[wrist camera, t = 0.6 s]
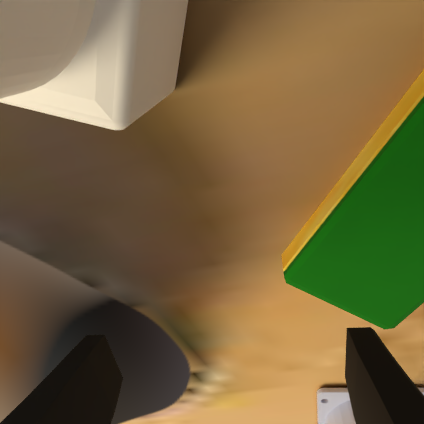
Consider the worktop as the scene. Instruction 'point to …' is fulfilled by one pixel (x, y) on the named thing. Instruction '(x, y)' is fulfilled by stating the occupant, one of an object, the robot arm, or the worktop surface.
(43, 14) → the medicine bottle
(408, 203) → the dish sponge
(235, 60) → the worktop surface
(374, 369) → the robot arm
